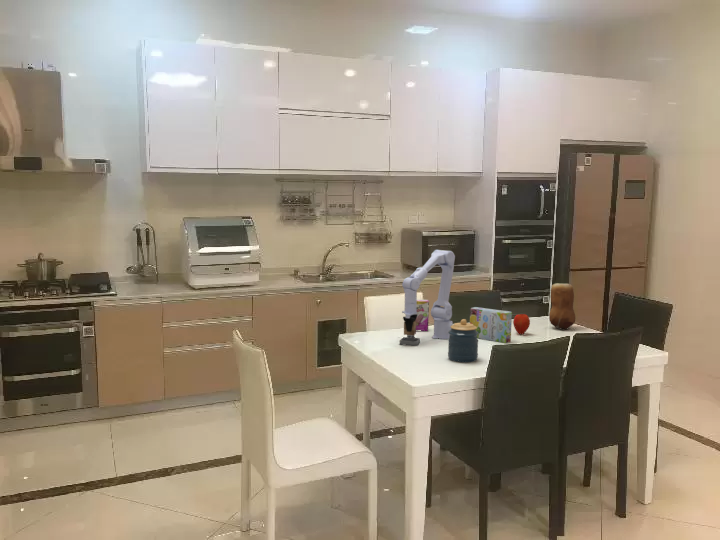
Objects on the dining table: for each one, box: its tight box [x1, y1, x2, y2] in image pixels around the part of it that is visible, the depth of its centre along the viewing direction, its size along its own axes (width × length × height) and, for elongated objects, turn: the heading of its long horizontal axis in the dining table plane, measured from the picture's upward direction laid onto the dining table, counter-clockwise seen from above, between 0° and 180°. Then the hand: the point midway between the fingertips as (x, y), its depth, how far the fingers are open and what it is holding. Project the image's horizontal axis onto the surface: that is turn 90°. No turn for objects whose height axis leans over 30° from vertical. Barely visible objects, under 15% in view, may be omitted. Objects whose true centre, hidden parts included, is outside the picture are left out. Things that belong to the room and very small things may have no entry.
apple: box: [512, 313, 531, 335], centre depth 317 cm, size 9×8×11 cm
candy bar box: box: [415, 299, 430, 332], centre depth 325 cm, size 11×5×16 cm, turn 84°
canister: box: [447, 318, 479, 363], centre depth 266 cm, size 13×13×18 cm
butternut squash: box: [548, 282, 576, 330], centre depth 331 cm, size 14×13×25 cm
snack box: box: [469, 306, 513, 344], centre depth 305 cm, size 21×6×15 cm, turn 47°
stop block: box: [403, 321, 417, 336], centre depth 295 cm, size 5×4×6 cm
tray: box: [399, 336, 421, 347], centre depth 295 cm, size 8×8×2 cm
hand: (410, 330), depth 295 cm, fingers closed on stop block, 4 cm apart
